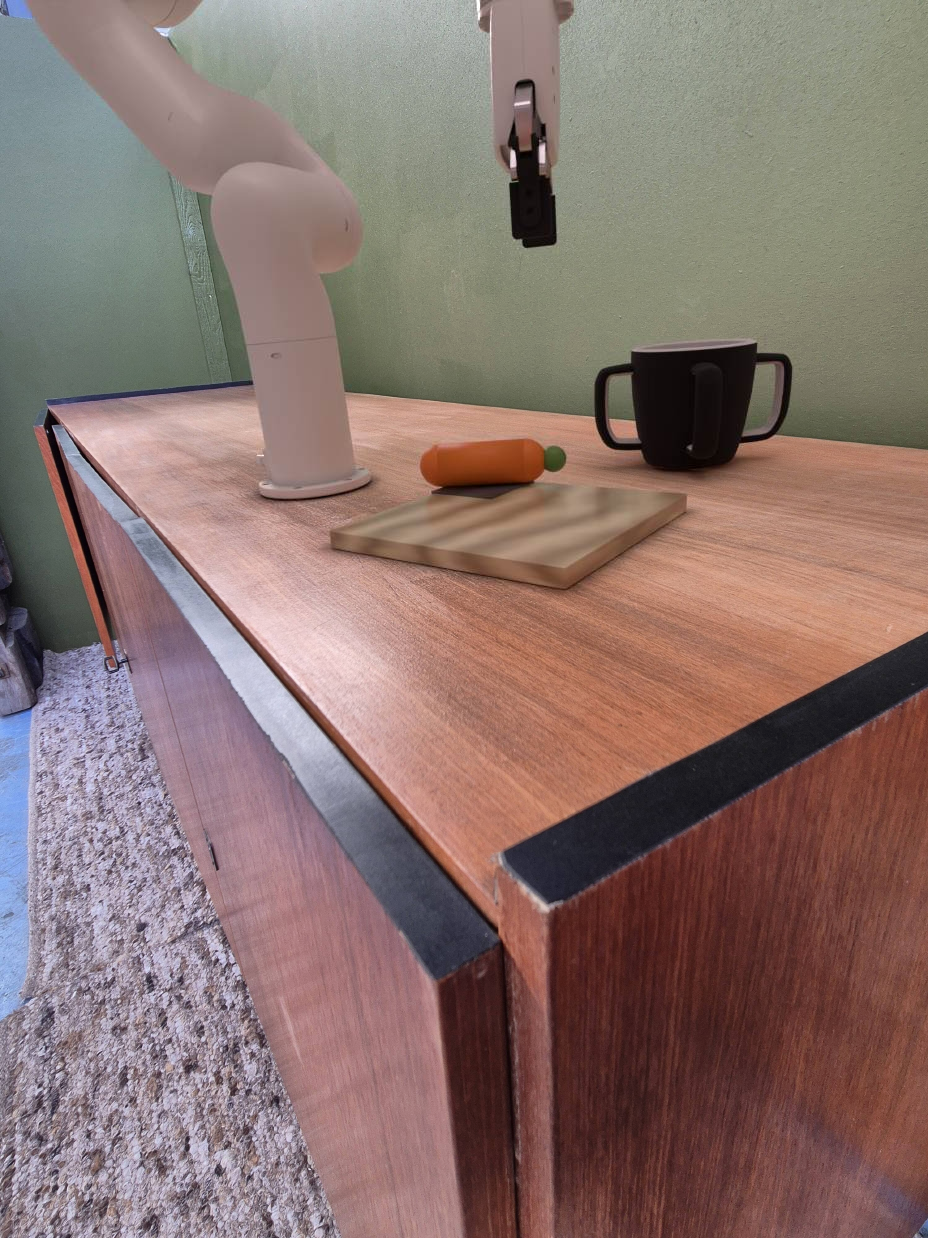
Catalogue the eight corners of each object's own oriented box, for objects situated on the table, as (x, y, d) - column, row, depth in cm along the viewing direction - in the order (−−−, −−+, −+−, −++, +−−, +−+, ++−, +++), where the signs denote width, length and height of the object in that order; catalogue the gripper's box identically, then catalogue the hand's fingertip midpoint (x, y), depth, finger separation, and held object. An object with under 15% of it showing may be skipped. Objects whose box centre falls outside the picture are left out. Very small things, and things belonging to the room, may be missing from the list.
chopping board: (331, 548, 58) (328, 528, 58) (476, 491, 73) (475, 475, 72) (565, 590, 45) (564, 564, 45) (686, 511, 60) (687, 491, 59)
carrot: (418, 492, 67) (413, 450, 65) (426, 482, 71) (421, 441, 69) (567, 484, 65) (565, 440, 63) (567, 474, 68) (565, 432, 67)
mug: (682, 443, 87) (686, 338, 82) (803, 458, 74) (815, 334, 69) (580, 467, 79) (578, 352, 74) (694, 488, 66) (700, 351, 62)
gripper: (490, 40, 64) (504, 253, 71) (459, -46, 48) (480, 239, 55) (575, 25, 62) (580, 244, 69) (571, -67, 47) (578, 227, 54)
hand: (536, 242), depth 62 cm, fingers open, 9 cm apart
